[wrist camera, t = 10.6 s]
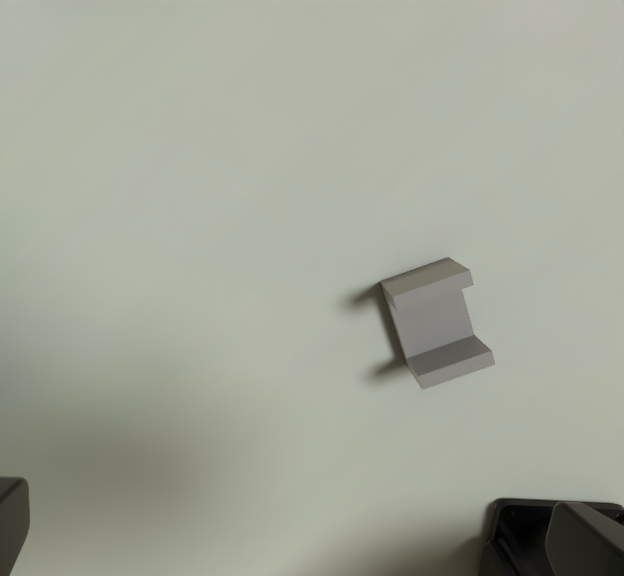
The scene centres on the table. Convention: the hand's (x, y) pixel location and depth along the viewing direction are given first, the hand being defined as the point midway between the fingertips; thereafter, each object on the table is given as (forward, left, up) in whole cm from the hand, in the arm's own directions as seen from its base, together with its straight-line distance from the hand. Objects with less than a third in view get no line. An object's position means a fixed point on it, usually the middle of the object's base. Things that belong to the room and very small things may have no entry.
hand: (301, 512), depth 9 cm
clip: (-6, 0, -13) cm, 14 cm away
